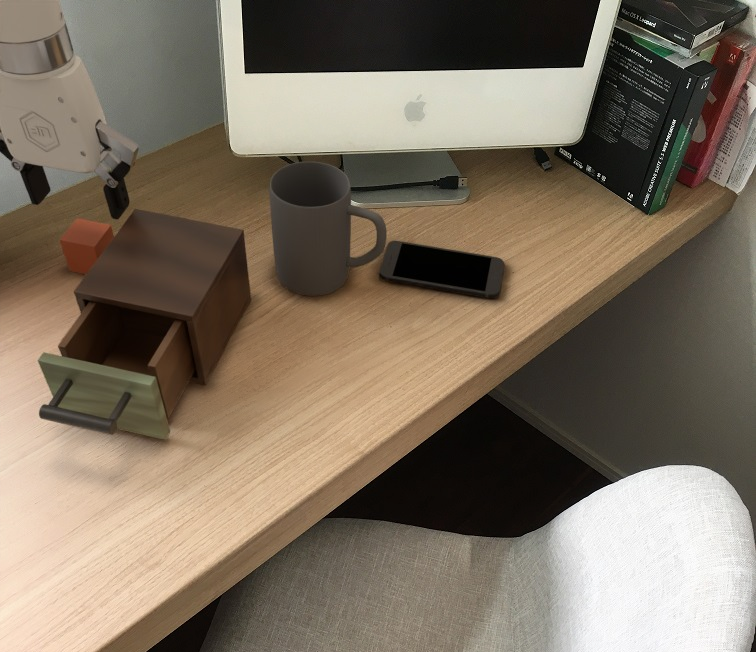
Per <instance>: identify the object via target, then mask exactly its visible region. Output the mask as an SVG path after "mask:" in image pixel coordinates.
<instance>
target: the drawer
mask: <svg viewBox="0 0 756 652" xmlns="http://www.w3.org/2000/svg"><path fill="white" fill-rule="evenodd" d="M57 347H58V350H59V353H60V355H59V354H54V353H50V352H46V351H45V352H44V351H43V352H42V354H41V355H40V356H39V358H37V363H38V365H39V368H40V370H41V372H42V374H43V377H44V379H45V381H46V384H47V387H48V389H49V391H50V394H51V396H52V398H51V399H50V401H49V402H48V404H46V403H44V404H42V405H41V406H40V407H39V410H38V416H39V418H40V419H41V420H44V421H47V422H48V421H49V422H53V423H58V424H61V425H66V426H70V427H75V428H79V429H84V430H88V431H92V432H97V433H101V434H105V435H109V436H113V435H114V434H115V433H116V432H117V430H120V431H125V432H130V433H134V434H138V435H143V436H148V437H151V438H155V439H159V440H165V441H166V440H167V438H168V436H169V435H170V432H171V429H170V424H169V422H168V419H169V418H170V417H171V415H172V413H173V411H174V410H175V408H176V406H177V404H178V402H179V401H180V398H181V397H182V395H183V393H184V392H185V390H186V388H187V386H188V384H189V381H190V379H191V377H192V375H193V373H194V371H195V370H196V365H195V361H194V356H193V351H192V346H191V341H190V336H189V331H188V326H187V321H185V320H180V319H176V318H171V317H166V316H161V315H157V314H152V313H147V312H142V311H138V310H133V309H128V308H123V307H119V306H114V305H109V304H105V303H100V302H95V301H90V302H89V303H88V304H87V306H86V307H85V308H84V310H83V311H82V313H81V312H80V314H79V315H78V317H77V318H76V319H75V320H74V322H73V324H72V326H71V327H70V328H69V329H68V330H67V332H66V333H65V334H64V336H63V337H62V339H61V341H60V342H59V343H58V345H57Z"/></svg>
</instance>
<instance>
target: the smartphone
mask: <svg viewBox="0 0 756 652" xmlns="http://www.w3.org/2000/svg"><path fill="white" fill-rule="evenodd" d="M505 267H506V264H505V261H504V260H503V259H502V258H500V257H498V256H492V255H485V254H480V253H476V252H475V253H474V252H469V251H468V252H467V251H464V250H463V251H461V250H455V249H449V248H444V247H438V246H432V245H425V244H419V243H414V242H407V241H403V240H402V241H401V240H391V241H389V242H388V243H387V245H386V247H385V251H384V254H383V257H382V260H381V264H380V267H379V270H378V276H379V277H378V278H380V279H381V280H382V281H386V282H390V283H391V282H392V283H397V284H404V285H408V286H409V285H410V286H416V287H422V288H426V289H434V290H439V291H445V292H451V293H457V294H462V295H468V296H475V297H480V298H486V299H495V298H497V297H499V295H500V294H501V291H502V285H503V279H504V273H505V269H506V268H505Z"/></svg>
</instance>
